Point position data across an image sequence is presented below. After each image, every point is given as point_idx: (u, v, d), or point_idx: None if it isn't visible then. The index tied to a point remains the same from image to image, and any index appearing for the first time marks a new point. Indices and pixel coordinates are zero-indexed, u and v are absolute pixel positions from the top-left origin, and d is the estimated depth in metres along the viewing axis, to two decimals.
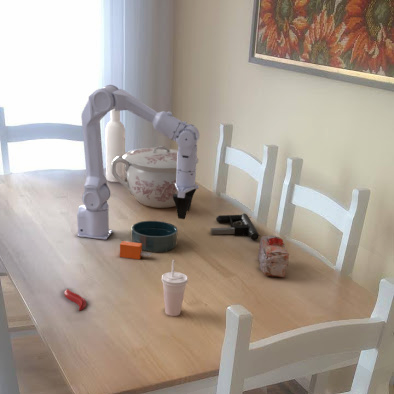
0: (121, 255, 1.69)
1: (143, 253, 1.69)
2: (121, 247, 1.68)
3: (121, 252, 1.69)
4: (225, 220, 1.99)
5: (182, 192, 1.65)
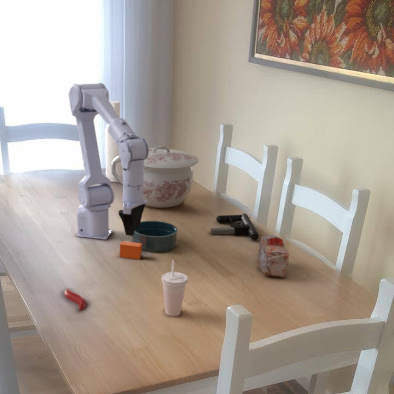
0: (121, 255, 1.69)
1: (143, 253, 1.69)
2: (121, 247, 1.68)
3: (121, 252, 1.69)
4: (225, 220, 1.99)
5: (127, 208, 1.56)
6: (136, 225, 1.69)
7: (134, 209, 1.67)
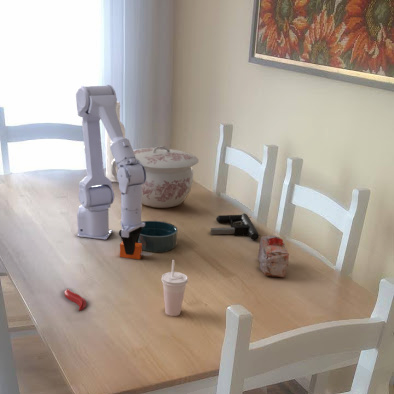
0: (121, 255, 1.69)
1: (143, 253, 1.69)
2: (121, 247, 1.68)
3: (121, 252, 1.69)
4: (225, 220, 1.99)
5: (126, 231, 1.59)
6: None
7: None
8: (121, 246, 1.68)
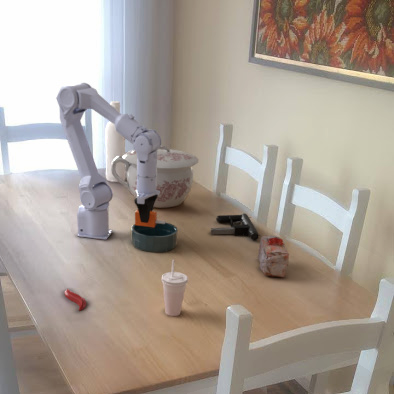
0: (136, 223, 1.73)
1: (158, 221, 1.73)
2: (136, 215, 1.72)
3: (136, 220, 1.72)
4: (225, 220, 1.99)
5: (141, 198, 1.63)
6: None
7: None
8: (136, 214, 1.71)
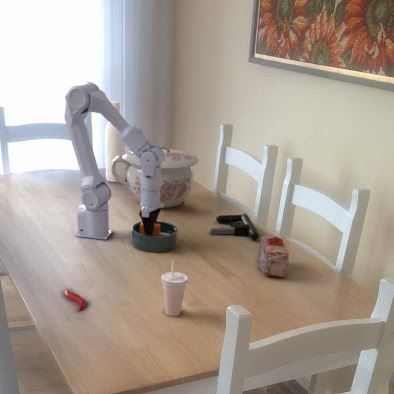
0: None
1: (161, 233, 1.78)
2: (141, 227, 1.77)
3: (141, 232, 1.77)
4: (225, 220, 1.99)
5: (146, 212, 1.67)
6: None
7: None
8: (141, 226, 1.76)
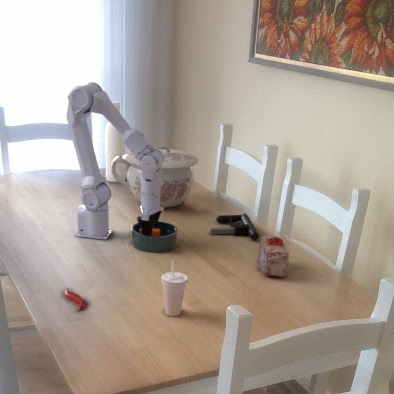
0: None
1: None
2: (141, 232, 1.77)
3: None
4: (225, 220, 1.99)
5: (146, 215, 1.68)
6: None
7: (151, 215, 1.79)
8: (141, 231, 1.77)
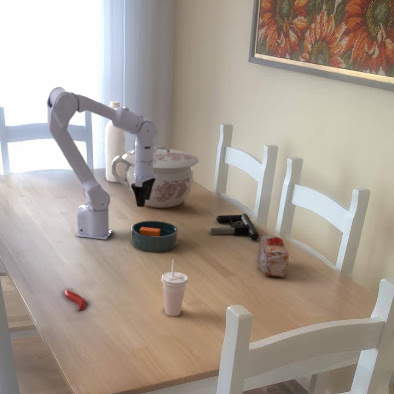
0: None
1: None
2: (141, 232, 1.77)
3: None
4: (225, 220, 1.99)
5: (139, 181, 1.73)
6: (146, 198, 1.87)
7: (145, 184, 1.84)
8: (141, 231, 1.77)
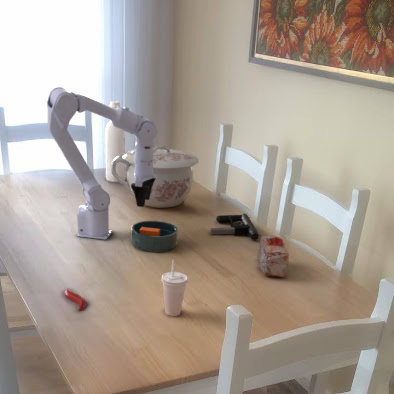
0: None
1: None
2: (141, 232, 1.77)
3: None
4: (225, 220, 1.99)
5: (139, 181, 1.73)
6: (146, 198, 1.87)
7: (144, 183, 1.85)
8: (141, 231, 1.77)
